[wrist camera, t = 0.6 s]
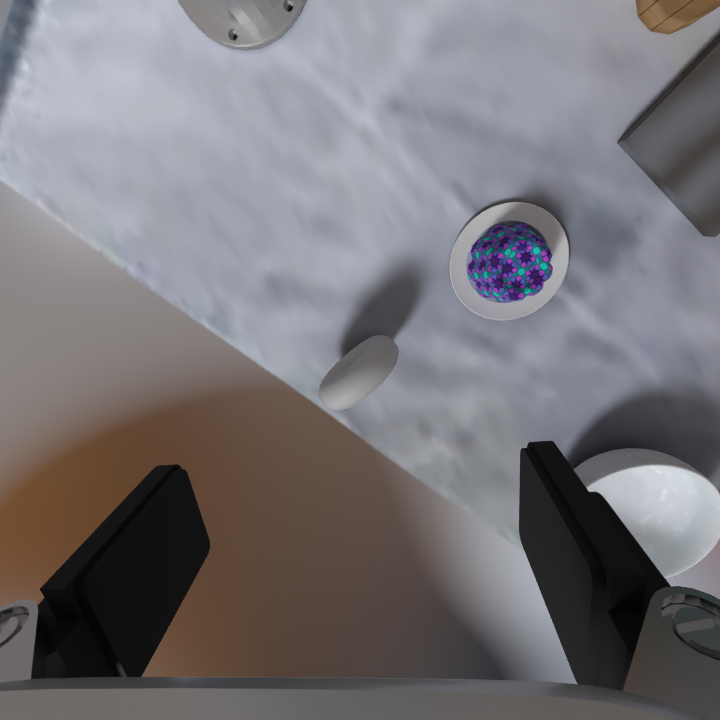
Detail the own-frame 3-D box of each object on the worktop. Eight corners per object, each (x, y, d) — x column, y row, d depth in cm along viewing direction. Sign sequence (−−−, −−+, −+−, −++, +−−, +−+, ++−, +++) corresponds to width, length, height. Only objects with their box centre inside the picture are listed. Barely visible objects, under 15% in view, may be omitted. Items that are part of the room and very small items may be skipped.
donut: (384, 318, 44) (382, 346, 34) (404, 340, 44) (407, 374, 35) (320, 370, 47) (302, 409, 37) (339, 390, 47) (327, 433, 38)
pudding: (584, 280, 41) (611, 289, 36) (481, 338, 44) (492, 353, 39) (535, 176, 38) (556, 170, 33) (428, 246, 41) (432, 250, 36)
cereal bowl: (655, 406, 45) (700, 439, 38) (699, 508, 49) (747, 553, 43) (517, 466, 49) (536, 505, 43) (568, 555, 53) (593, 603, 47)
